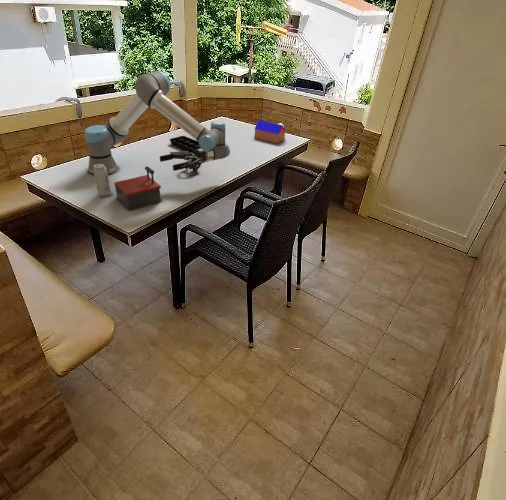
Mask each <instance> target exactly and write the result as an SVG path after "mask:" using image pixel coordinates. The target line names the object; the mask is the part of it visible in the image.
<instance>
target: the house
mask: <svg viewBox="0 0 506 500" xmlns="http://www.w3.org/2000/svg"><path fill="white" fill-rule="evenodd" d="M286 131H287V130H286V128H285V127H284V125H283V124H279V123H274V122H269V121H266V120H261V119H259V120H258V121H257V123H256V125H255V127H254V139H257V140H262V141H266V142H269V143H274V144H280V143H281V142H283V141H284V140H285V139H286V138H285V137H286Z"/></svg>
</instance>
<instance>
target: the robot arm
mask: <svg viewBox="0 0 506 500" xmlns="http://www.w3.org/2000/svg"><path fill="white" fill-rule="evenodd" d="M134 89H135V94H134V95H133V96H131V99H129V100H128V102H127V103H126V104H125V106H123V108H122V109H121V110H120V111H119V112H118V114H116V116H112V117H110V118H109V119H108V120H107V122H106V123H105V124H104V125H101V124H94V125H91V126H88V127H86V128H85V130H84V132H83V134H84V135H83V136H84V140H85V144H86V149H87V152H88V159H89V160H88V166H87V169H88V172H89V174H91V175H94V172H93V168H94V165H96V164H104V166H105V167H106V169H107V174H108V175H111V174H114V173H115V172H117V171H118V165H117V162H116V160H115V159H114V156H113V154H112V150H111V148H113V147H115V146H117V145H118V144H120V143H123V142H124V141H125V140H126V139H127V137H128V134H129V132H130V130H129V129H130V128H131V127H132V126H133V124H134V123H136V121H137V120H138V119H139V118H140V117H141V116H142V114H143V113H144V112H145V111H146V110H147V109H148V108H150V109H155V110H156V111H158V113H160V114H161V115H163V116H164V117H165V118H167V119H168V120H169V121H171V122H172V123H173V124H175V125H176V126H177V127H178V128H180V129H181V130H182V131H184V132H185V133H187V134H188V135H189V136H190V137H192V139H193V140H196V141H198V142H199V145H200V147H201V148H199V149H195V150H194V152H193V153H191V152H189V151H187V150H183V151H170V152H169V154H163V155H160V156H159V162H160V163H162V162H166V161H172V160H173V159H174V160H184V161H185V162H186V164H185V162H179V163H175V164H172V171H174V172H175V171H179V170H183V169H185V168H188V169H189V170H192V169H193V168H194V167H196V166H198V165H199V164H201V165H202V164H205V163H210V162H213V161H216V160H222V159H225V158H228V157H229V156H230V154H231V148H230V146H229V144H227V143H226V123H225V122H223V121H220V120H215V121H212V122H210V129H208V128H206V127H205V126H204V125H203V124H201V123H200V122H198V121H197V120H196V119H195V118H193V117H192V116H191V115H190V114H188V112H186V111H185V110H183V108H181V107H180V106H178V105H177V104H176V103H174V102H173V101H172V100H171V99H169V98H168V97H167V96H166V95H167V94H168V93H170V91H171V81H170V78H169V76H168V75H167V74H166V73H165V72H164V71H161V70H152V72H148V73H144V74H141V75H139V76H138V77H136V80H135V83H134ZM187 161H188V162H187Z"/></svg>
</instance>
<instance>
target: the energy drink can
mask: <svg viewBox="0 0 506 500" xmlns="http://www.w3.org/2000/svg"><path fill="white" fill-rule="evenodd" d="M93 172H94V174H93V177H94V180H95V186H96V189H97V194H98V195H99V196H100V197H109V196H110V195H111V193H112V190H111V185H110V180H109V179H110V178H109V174H107V169H106V167H105V166H104V164H96V165H94V168H93Z"/></svg>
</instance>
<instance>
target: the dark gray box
mask: <svg viewBox="0 0 506 500" xmlns="http://www.w3.org/2000/svg"><path fill="white" fill-rule="evenodd" d="M114 188H115V194H116V198H117V200H119V201H120V202H121V203H122V204H123V205H124V206H125V207H126V208H127V210H128V211H132V210H135V209H139V208H142V207H147V206H149V205H154V204H156V203H161V202H162V199H161V198H162V197H161V191H160V190H161V188H159V189H155V190H151V191H147V192H143V193H139V194H136V195H132V196H128V197H127V196H126V195H125V194H124V193H123V192H122V191H121V190H120V189H119V188H118V187H117V186H116V185H115V184H114Z"/></svg>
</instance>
